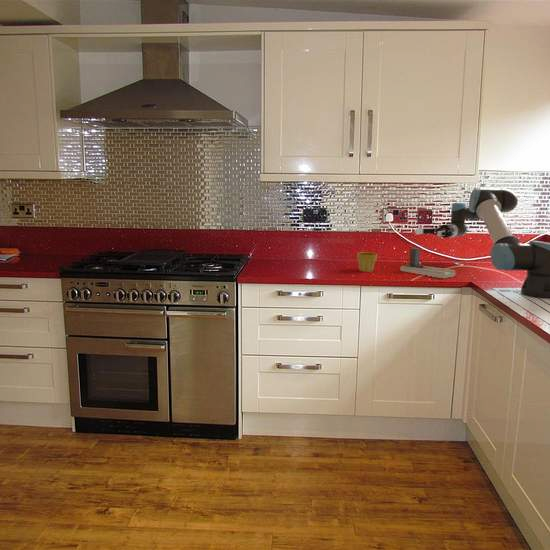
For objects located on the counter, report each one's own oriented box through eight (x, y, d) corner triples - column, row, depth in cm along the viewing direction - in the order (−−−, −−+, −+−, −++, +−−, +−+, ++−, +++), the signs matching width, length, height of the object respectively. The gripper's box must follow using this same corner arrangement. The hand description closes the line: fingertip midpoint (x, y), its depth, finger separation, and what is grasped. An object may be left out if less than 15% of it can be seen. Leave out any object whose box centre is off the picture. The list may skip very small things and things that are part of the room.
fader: (422, 267, 271) (423, 248, 270) (415, 269, 267) (416, 249, 265) (413, 266, 276) (414, 247, 274) (405, 267, 271) (406, 248, 270)
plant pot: (378, 271, 273) (379, 253, 271) (371, 274, 264) (373, 255, 262) (360, 269, 278) (361, 251, 276) (353, 272, 269) (354, 253, 267)
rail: (454, 276, 259) (455, 270, 259) (444, 278, 253) (444, 272, 252) (411, 270, 279) (411, 264, 278) (400, 271, 272) (400, 265, 272)
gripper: (468, 239, 280) (446, 241, 266) (428, 235, 298) (406, 237, 285) (469, 225, 278) (447, 227, 265) (429, 222, 297) (407, 224, 283)
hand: (426, 232), depth 275 cm, fingers open, 13 cm apart
